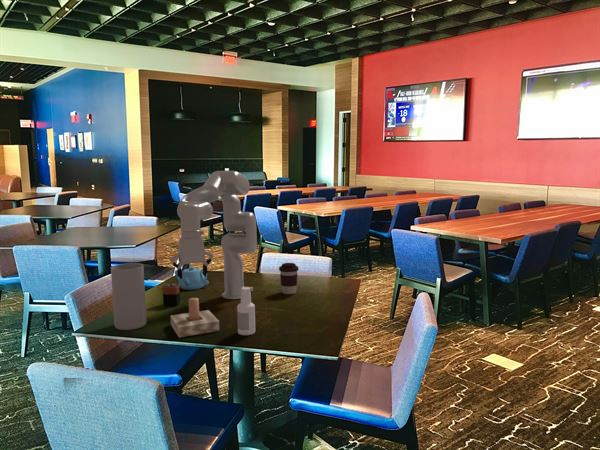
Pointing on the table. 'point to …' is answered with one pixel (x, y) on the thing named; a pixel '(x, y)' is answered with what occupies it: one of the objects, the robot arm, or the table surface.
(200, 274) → the teapot
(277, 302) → the table surface
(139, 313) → the cylinder vase
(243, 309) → the spray bottle
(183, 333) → the socket block
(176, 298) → the battery
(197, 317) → the peg
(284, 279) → the coffee cup
